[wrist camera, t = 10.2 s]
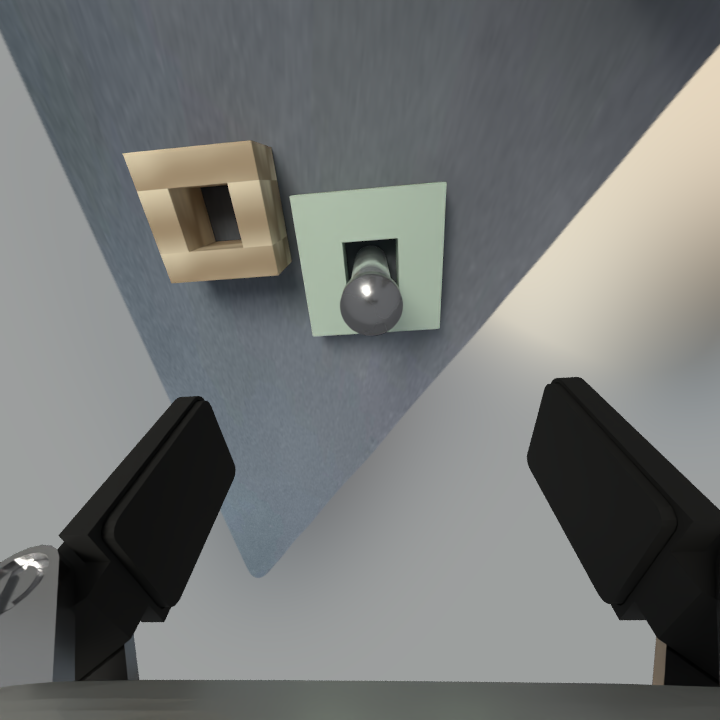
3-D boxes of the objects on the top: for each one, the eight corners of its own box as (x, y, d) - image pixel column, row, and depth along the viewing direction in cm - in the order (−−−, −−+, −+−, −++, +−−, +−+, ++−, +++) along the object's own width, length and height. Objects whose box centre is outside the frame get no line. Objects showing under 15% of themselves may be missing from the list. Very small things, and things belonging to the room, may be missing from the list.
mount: (164, 158, 26) (122, 153, 22) (271, 147, 25) (250, 140, 21) (199, 268, 30) (171, 283, 26) (291, 261, 30) (278, 275, 25)
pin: (348, 242, 29) (336, 278, 18) (390, 238, 29) (402, 273, 18) (352, 283, 31) (343, 337, 20) (391, 280, 30) (403, 334, 20)
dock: (297, 194, 27) (289, 196, 24) (439, 181, 26) (446, 181, 24) (317, 324, 33) (313, 336, 30) (433, 316, 32) (439, 328, 30)
